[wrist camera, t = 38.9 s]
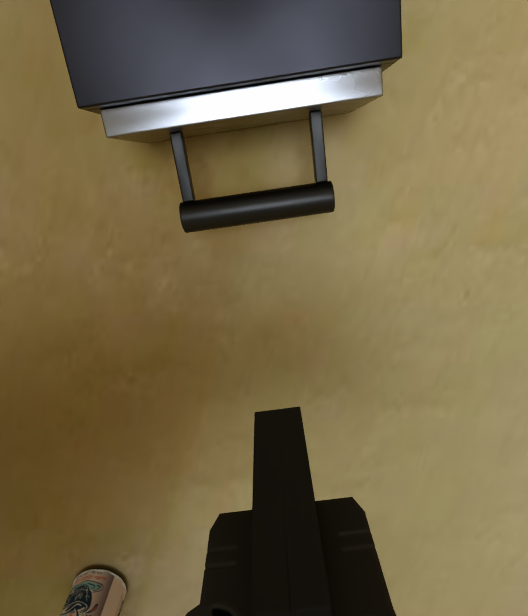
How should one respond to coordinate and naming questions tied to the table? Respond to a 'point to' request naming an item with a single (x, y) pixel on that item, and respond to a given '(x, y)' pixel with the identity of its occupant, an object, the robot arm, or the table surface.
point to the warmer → (216, 44)
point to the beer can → (95, 594)
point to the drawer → (244, 114)
